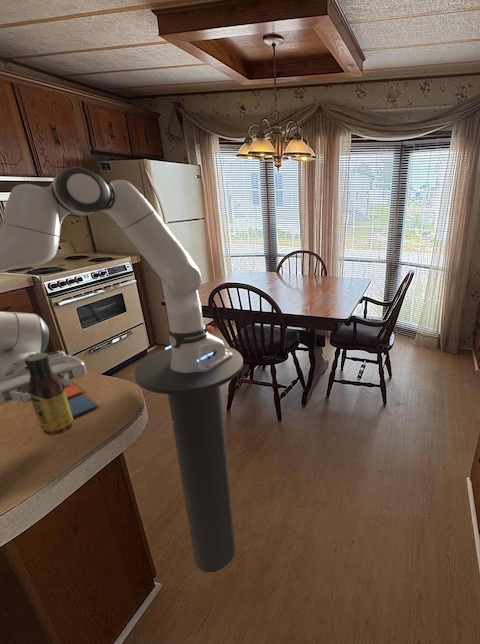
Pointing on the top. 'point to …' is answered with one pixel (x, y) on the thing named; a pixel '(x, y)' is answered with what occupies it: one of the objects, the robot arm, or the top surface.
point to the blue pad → (80, 405)
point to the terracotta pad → (72, 391)
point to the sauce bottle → (48, 396)
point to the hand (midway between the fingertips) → (48, 391)
